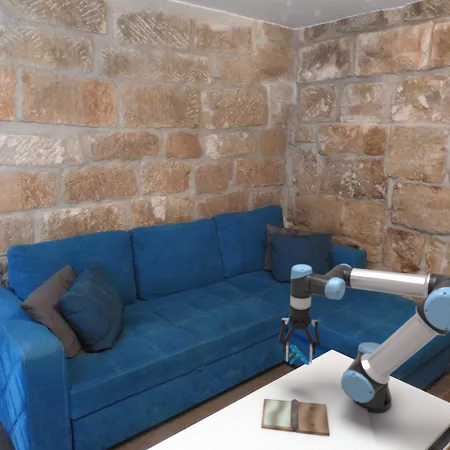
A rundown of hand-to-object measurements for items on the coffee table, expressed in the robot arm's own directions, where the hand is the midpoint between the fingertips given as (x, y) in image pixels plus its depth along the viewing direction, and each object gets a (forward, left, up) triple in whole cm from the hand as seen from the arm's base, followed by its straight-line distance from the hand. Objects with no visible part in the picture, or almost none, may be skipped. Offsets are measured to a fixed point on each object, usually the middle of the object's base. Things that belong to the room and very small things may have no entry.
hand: (298, 360), depth 168 cm
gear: (-2, 0, -2) cm, 3 cm away
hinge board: (+1, +15, -14) cm, 21 cm away
